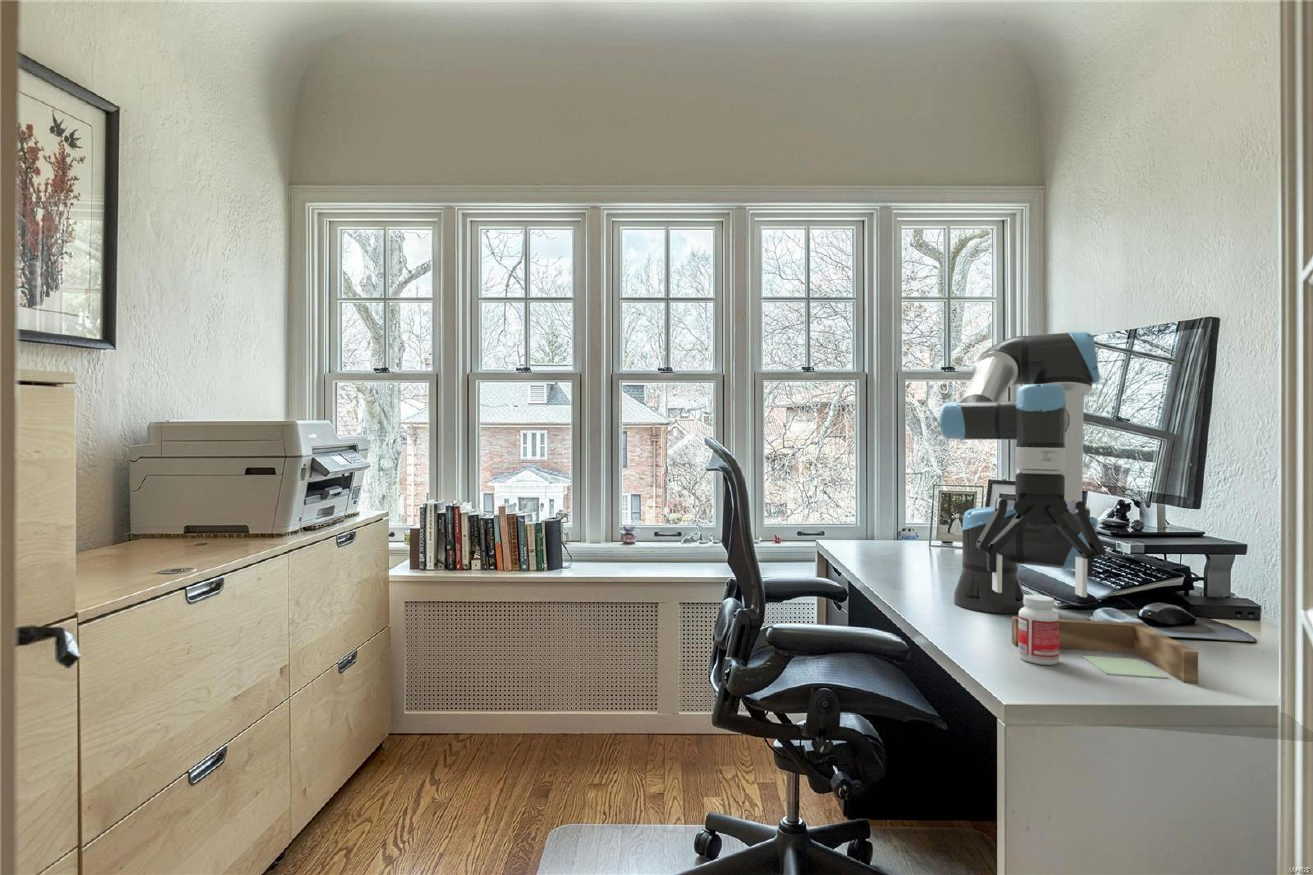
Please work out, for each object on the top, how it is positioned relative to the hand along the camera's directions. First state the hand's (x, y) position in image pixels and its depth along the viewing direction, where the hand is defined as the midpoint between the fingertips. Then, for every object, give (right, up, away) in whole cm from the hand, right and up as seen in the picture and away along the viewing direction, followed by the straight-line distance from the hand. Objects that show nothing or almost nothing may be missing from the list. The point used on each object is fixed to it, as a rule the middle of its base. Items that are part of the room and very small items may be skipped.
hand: (1038, 593), depth 116 cm
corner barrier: (+10, -12, 0) cm, 16 cm away
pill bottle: (0, -12, 0) cm, 12 cm away
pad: (+13, -12, -3) cm, 18 cm away
